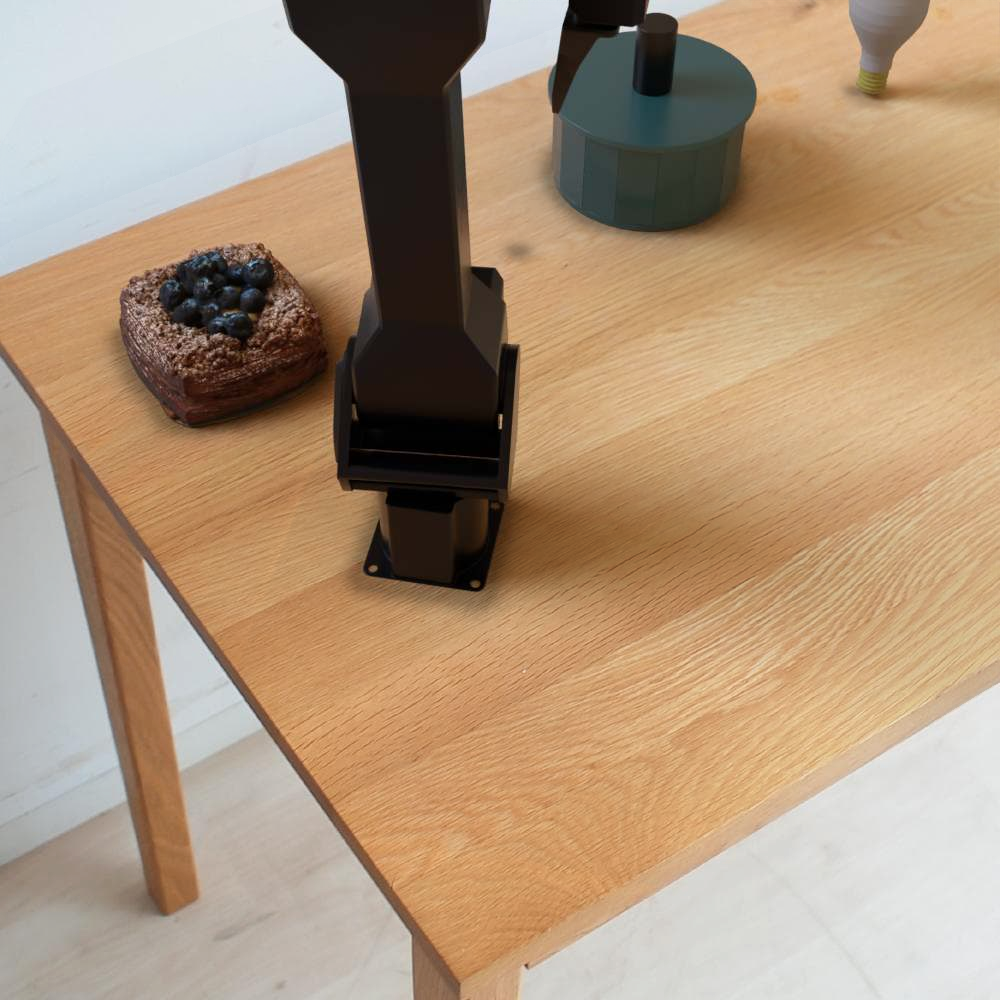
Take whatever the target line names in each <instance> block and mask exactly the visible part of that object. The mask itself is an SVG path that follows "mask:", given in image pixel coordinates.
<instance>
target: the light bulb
mask: <svg viewBox="0 0 1000 1000" xmlns="http://www.w3.org/2000/svg"><path fill="white" fill-rule="evenodd" d="M930 4H931V0H848V15H849V18H850V21H851V24H852V28H853V29H854V31H855V34H856V36H857V38H858V39H857V40H858V41H859V44H860V47H861V55H860V59H859V71H858V78H857V82H856V87H857V89H858V90H859V91H861V92H862V93H863V94H866V95H868V96H872V95H878V94H881V93H883V92H884V91H885V90H886V89H887V82H888V78H889V74H890V70H891V69H892V67H893V61H894V58H895V55H896V53H897V52H898V51H899V50H900V49H901V48H902V47H903V46H904V45H905V44H906V43H907V41H909V40H910V39H911V38H912V37H913V36H914V35H915V34H916V32H917V31H919V29H920V28H921V27H922V25H923V24H924V21H926V17H927V16H928V13H929V10H930V9H929V8H930Z"/></svg>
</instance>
